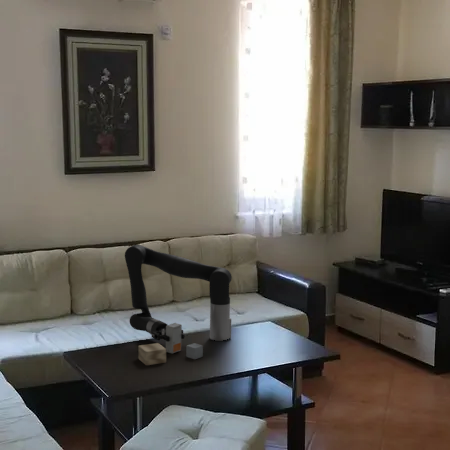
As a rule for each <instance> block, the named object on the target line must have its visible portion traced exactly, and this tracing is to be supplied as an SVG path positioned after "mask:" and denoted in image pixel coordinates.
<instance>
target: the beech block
mask: <svg viewBox="0 0 450 450" xmlns="http://www.w3.org/2000/svg"><path fill="white" fill-rule="evenodd" d="M138 360H139V361H140V362H142V364H144V365H145V366H150V365H151V366H152V365H157V364H165V363H167V352H166V347H164V346H163V345H161V344H160V343H159V342H156V343H149V344H141V345H138Z"/></svg>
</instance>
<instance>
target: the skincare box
mask: <svg viewBox="0 0 450 450" xmlns="http://www.w3.org/2000/svg"><path fill="white" fill-rule="evenodd" d="M182 328H183V327H182V324H181V323H177V322H174V323H169V324H167V326H166V335H167V336H169V337H170V341H168V342H167V341H165V349H166V353H169V354H174V353H177V352H180V351H182V339H181V332H182V330H183V329H182Z"/></svg>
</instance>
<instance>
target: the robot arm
mask: <svg viewBox="0 0 450 450" xmlns="http://www.w3.org/2000/svg"><path fill="white" fill-rule="evenodd" d="M124 259H125V264H126V268H127V272H128V277H129V283H130V294H131V305H132V308H133V309H135V310H136V309H137V310H140V311H141V312H138V313H134V314H132V315H131V316H130V317H129V324H130V325H129V326H131V328H132V329H134V330H137V331H142V332H147V333H148V334H150V336H151V338H153V339H155V340H156V341H160V340H162V341H165V342H166V341H167V342H168V341H170V337H169V336H167V335H166V326H167V325H168V323H166V322H164V321H162V320H160V319H156V318H154V317H152V315H151V311H150V308H149V306H148V299H147V289H146V286H145V282H144V279H143V275H142V268H143V267H142V265H148V266H152V267H155V268H157V269H159V270H160V271H162V272H165V273H167V274H168V275H171V276H175V277H178V278H183V279H195V280H197V279H198V280H203V281H206V282H209V284H208V285H209V288H208V289H209V299H210V302H209V304H210V306H209V307H210V310H209V339H210V340H211V341H214V340H215V341H214V342H224V341H223V340H226V341H228V340H229V338H230V339H232V318H230V317H231V313H230V311H231V297H230V284H231V281H232V279H233V277H232V273H231V272H230V270H228V269H227V268H225V267H222V266H220V267H219V266H214V265H208V264H204V263H201V262H198V261H195V260H192V259H188V258H185V257H182V256H178V255H174V254H171V253H170V254H169V253H165V252H161V251H157V250H155V249H151V248H148V247H146V246H144V245H141V244H134V245H132V246H129V247H128V248H127V249H126V250H125V252H124ZM184 339H185V333H184V330H183V329H182V332H181V340H184ZM227 339H228V340H227Z"/></svg>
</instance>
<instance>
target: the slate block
mask: <svg viewBox="0 0 450 450" xmlns="http://www.w3.org/2000/svg"><path fill="white" fill-rule="evenodd" d="M203 349H204V345H202V344H198V343H195V342H193V343H191V344H190V343H189V344H188V345H186V349H185V351H186V356H185V357H186V358H189V359H193V360H196V359H200V358H202V357H204V354H203V353H204V350H203Z"/></svg>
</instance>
